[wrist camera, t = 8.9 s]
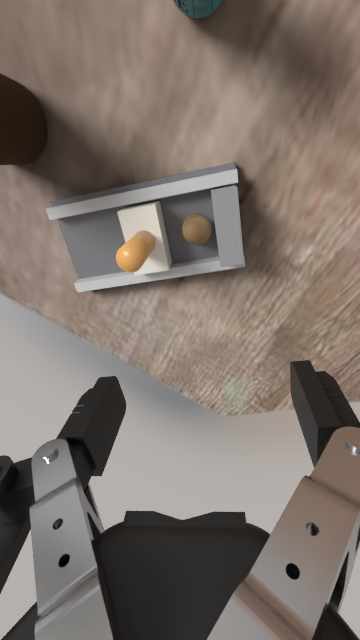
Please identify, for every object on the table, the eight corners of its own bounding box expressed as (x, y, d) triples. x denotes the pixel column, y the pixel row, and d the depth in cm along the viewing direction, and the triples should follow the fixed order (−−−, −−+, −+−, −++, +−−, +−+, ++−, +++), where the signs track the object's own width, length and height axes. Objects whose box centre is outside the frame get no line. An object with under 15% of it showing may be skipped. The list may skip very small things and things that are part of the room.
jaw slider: (159, 201, 39) (141, 213, 28) (172, 261, 43) (160, 292, 32) (125, 207, 40) (95, 222, 29) (140, 266, 43) (118, 298, 33)
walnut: (209, 209, 39) (209, 213, 36) (213, 238, 41) (213, 245, 37) (180, 214, 40) (178, 219, 36) (185, 243, 41) (184, 250, 38)
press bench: (234, 162, 37) (239, 161, 31) (243, 264, 44) (249, 281, 37) (55, 200, 42) (26, 206, 35) (87, 288, 48) (67, 307, 41)
